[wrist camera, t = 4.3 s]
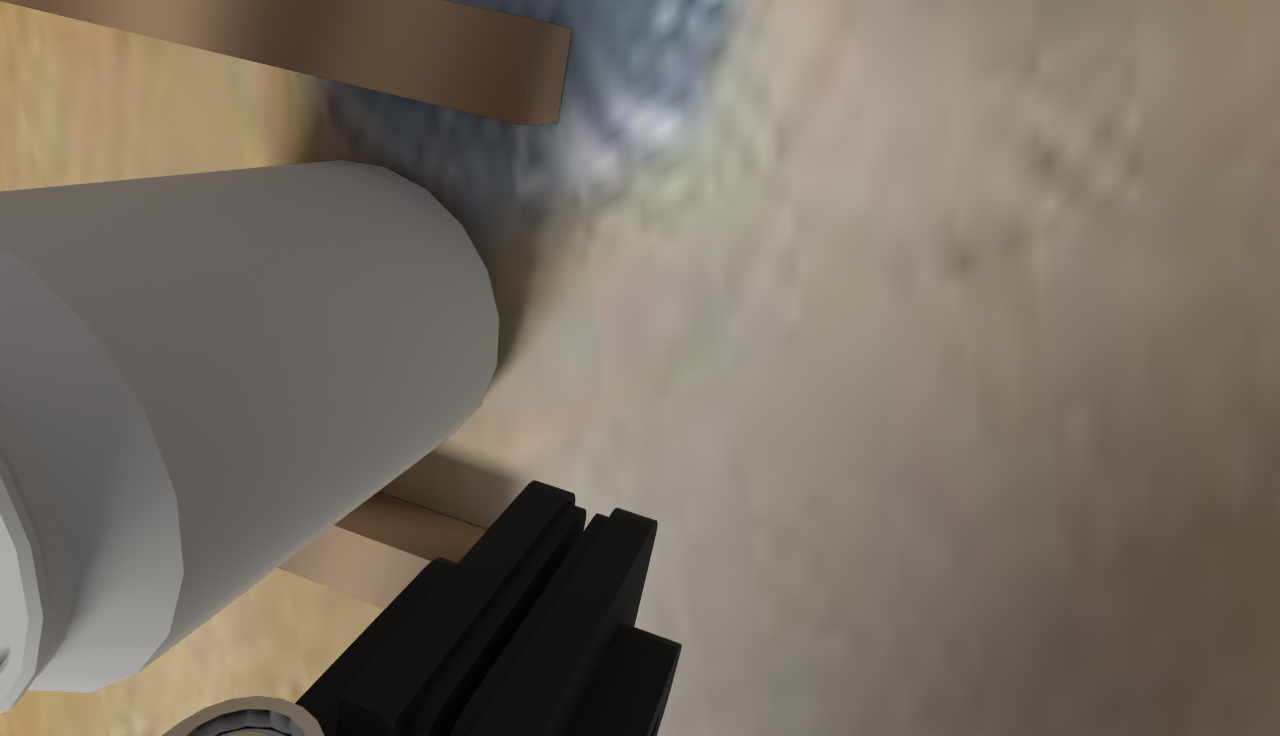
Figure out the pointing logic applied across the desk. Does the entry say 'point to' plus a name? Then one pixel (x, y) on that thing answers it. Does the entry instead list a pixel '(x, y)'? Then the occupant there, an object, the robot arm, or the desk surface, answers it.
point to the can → (210, 392)
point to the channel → (399, 65)
